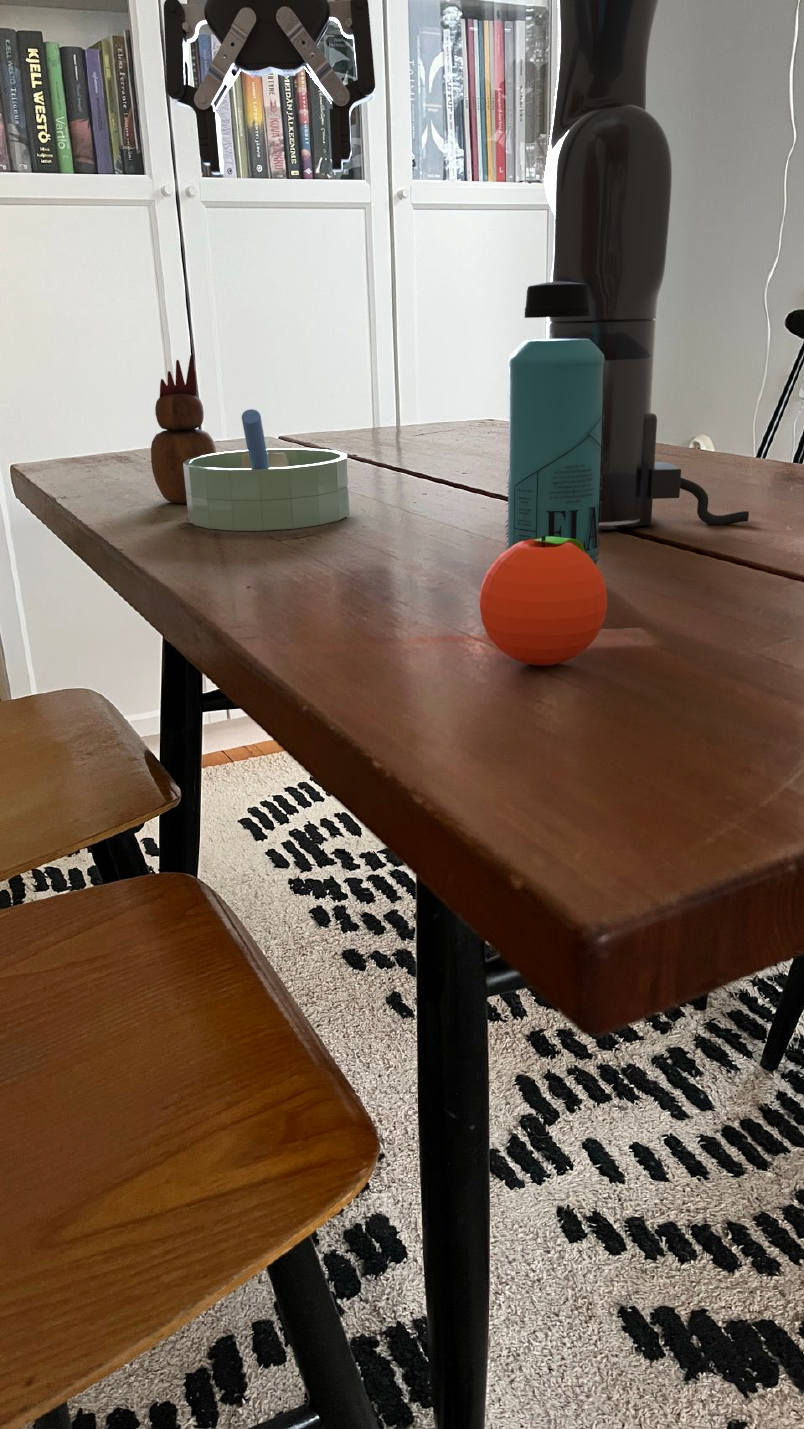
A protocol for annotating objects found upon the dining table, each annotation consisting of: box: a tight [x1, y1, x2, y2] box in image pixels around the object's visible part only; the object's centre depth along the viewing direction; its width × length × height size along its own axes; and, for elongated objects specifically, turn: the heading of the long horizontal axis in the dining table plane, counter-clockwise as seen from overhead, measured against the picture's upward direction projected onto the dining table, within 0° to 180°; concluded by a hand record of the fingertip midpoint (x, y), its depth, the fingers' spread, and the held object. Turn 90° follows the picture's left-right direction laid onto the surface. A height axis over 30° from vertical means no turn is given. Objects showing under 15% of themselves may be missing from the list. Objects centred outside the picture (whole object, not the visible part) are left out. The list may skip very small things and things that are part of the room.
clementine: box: [478, 536, 609, 667], centre depth 58 cm, size 8×7×7 cm
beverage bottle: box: [505, 281, 605, 566], centre depth 71 cm, size 6×7×20 cm
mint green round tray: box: [183, 447, 350, 532], centre depth 100 cm, size 15×15×6 cm
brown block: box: [241, 453, 289, 469], centre depth 100 cm, size 4×4×4 cm
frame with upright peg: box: [241, 408, 269, 469], centre depth 96 cm, size 16×7×6 cm, turn 2°
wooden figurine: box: [150, 354, 217, 505], centre depth 112 cm, size 7×6×15 cm
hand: (277, 172), depth 75 cm, fingers open, 8 cm apart
